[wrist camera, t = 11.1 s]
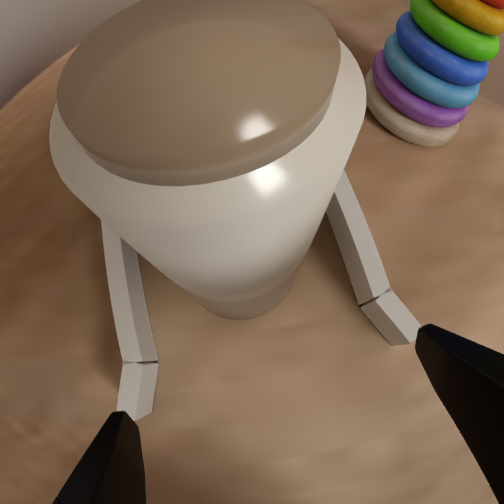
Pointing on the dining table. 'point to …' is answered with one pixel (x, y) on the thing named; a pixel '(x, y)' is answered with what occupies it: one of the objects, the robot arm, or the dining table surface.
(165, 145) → the cream jar
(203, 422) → the dining table surface
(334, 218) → the white u-shaped frame
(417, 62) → the stacking toy
